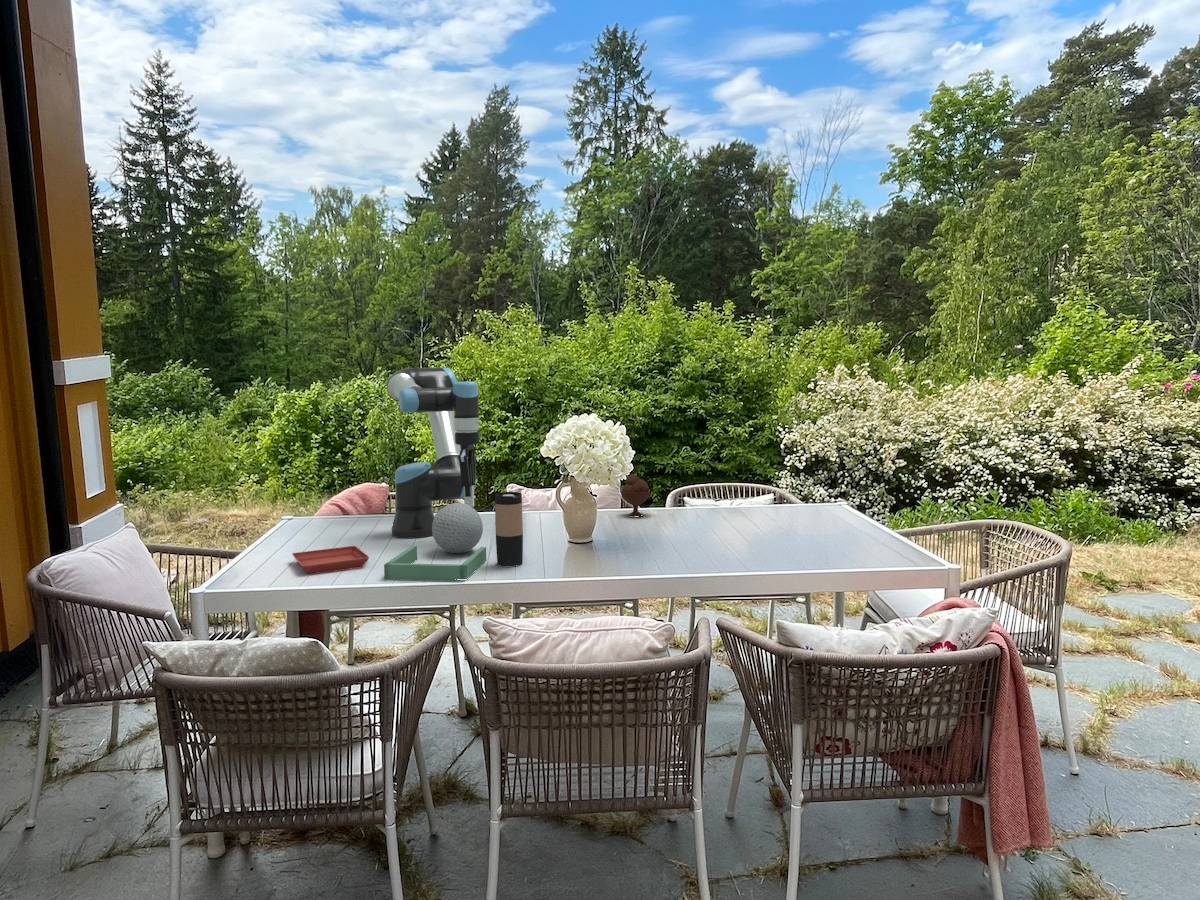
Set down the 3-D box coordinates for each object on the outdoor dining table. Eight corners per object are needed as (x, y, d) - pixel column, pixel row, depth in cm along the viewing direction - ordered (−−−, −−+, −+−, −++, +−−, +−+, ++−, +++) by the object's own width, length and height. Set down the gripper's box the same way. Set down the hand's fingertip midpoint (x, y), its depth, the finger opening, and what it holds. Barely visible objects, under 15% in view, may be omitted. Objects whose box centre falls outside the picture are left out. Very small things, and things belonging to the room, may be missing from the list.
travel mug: (498, 560, 234) (496, 491, 232) (525, 560, 234) (523, 491, 232) (494, 567, 226) (492, 496, 224) (521, 567, 226) (520, 496, 224)
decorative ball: (493, 551, 245) (492, 502, 243) (454, 561, 234) (452, 509, 232) (462, 544, 255) (460, 497, 253) (422, 553, 243) (420, 504, 242)
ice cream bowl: (619, 518, 293) (618, 477, 291) (623, 512, 304) (623, 473, 302) (648, 519, 291) (648, 477, 290) (651, 513, 302) (651, 473, 301)
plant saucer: (292, 563, 235) (291, 552, 234) (355, 555, 243) (355, 544, 243) (302, 578, 219) (302, 565, 219) (370, 568, 228) (370, 557, 227)
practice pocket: (412, 559, 236) (411, 545, 236) (486, 560, 234) (486, 547, 233) (384, 579, 215) (384, 564, 215) (465, 581, 213) (465, 566, 212)
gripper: (473, 433, 246) (475, 510, 248) (484, 429, 259) (486, 503, 261) (449, 433, 247) (451, 510, 249) (461, 429, 260) (463, 502, 262)
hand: (469, 506), depth 255 cm, fingers closed
